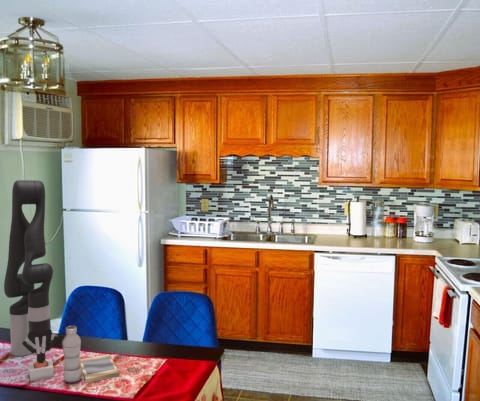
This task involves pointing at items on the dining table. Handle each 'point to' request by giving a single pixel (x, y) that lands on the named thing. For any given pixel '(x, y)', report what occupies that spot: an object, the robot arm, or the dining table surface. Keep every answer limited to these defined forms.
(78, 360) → the plastic bottle
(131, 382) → the dining table surface
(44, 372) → the button housing
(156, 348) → the dining table surface
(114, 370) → the board
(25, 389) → the dining table surface
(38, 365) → the button cap
